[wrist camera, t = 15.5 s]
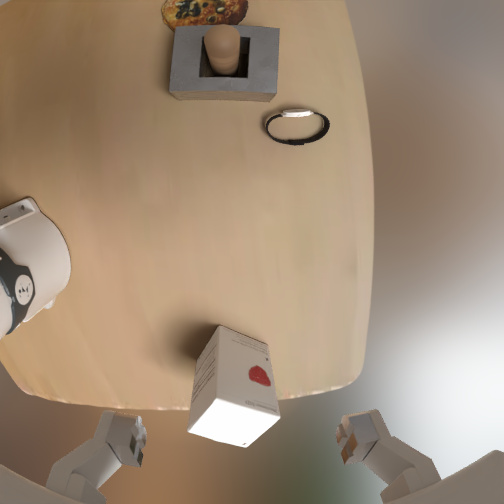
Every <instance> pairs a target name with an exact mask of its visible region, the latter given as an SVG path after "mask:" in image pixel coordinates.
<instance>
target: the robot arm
mask: <svg viewBox="0 0 504 504" xmlns="http://www.w3.org/2000/svg"><path fill="white" fill-rule="evenodd" d="M23 206H24V208H23ZM70 271H71V263H70V256H69V252H68V248H67V245H66V243H65V240H64V238H63V236H62V235H61V233H60V231H59V230H58V228H57V227H56V226H55V225H54V223H53V222H52V221H51V220H49V219H48V218H47V217H46V216H44V215H43V214H42V213H41V212H40V210H39V208H38V206H37V205H36V203H35V202H34V200H33V199H32V198H30V197H29V198H26V199H23V200H21V201H18V202H16V203H14V204H11V205H9V206H7V207H5V208H2V209H0V340H1V339H2V338H3V336H4V335H7V334H10V333H11V332H12V331H13V330H15V329H16V328H17V327H18V326H19V325H20V323H21V322H22V321H23V322H27V321H28V320H30V319H31V318H32V317H33V316H34V315H35V314H37V313H38V312H39V311H40V310H41V309H43V308H46V309H49V308H51V307H52V306H53V305H54V302H55V299H56V296H57V295H58V294H59V293H60V292H61V291H62V290H63V289H64V288H65V287H66V285H67V283H68V281H69V278H70ZM341 421H342V424H340V425H339V426H338V428H337V430H336V439H337V443H338V445H339V446H340V447H342V448H343V449H342V451H341V456H342V459H343V462H344V465H346V464H352V463H356V462H361V461H363V463H364V464H365V465H366V466H367V467H368V468H369V469H371V470H372V471H373V472H374V473H375V474H376V475H378V476H379V477H380V478H381V479H382V480H383V481H385V482H386V483H387V484H388V485H389V486H387V487H386V488H385V489H384V490H383V491H382V492H381V494H380V495H381V498H382V501H383V504H504V452H501V451H498V450H494V451H492V452H490V453H488V454H487V455H485V456H483V457H482V458H480V459H479V460H477V461H475V462H474V463H472V464H471V465H469V466H467V467H465V468H463V469H462V470H460V471H458V472H456V473H454V474H453V475H451V476H449V477H447V478H445V479H443V480H441V478H440V476H439V474H438V472H437V470H436V468H435V465H434V463H433V462H432V459H430V458H428V457H427V456H425V455H424V454H422V453H420V452H419V451H417V450H415V449H414V448H412V447H410V446H409V445H407V444H406V443H404V442H402V441H401V440H399V439H398V438H396V437H391V435H390V433H389V431H388V429H387V427H386V425H385V423H384V420H383V418H382V416H381V414H380V412H379V411H378V410H376V409H375V410H371V411H364V412H359V413H354V414H348V415H345V416H343V417H342V419H341ZM141 423H142V419H141V417H140V416H136V415H130V414H124V413H119V412H115V411H109V410H105V411H104V412H103V413H102V416H101V418H100V421H99V424H98V426H97V429H96V432H95V435H94V438H93V439H89V440H87V441H86V442H85V443H84V444H82V445H81V446H79V447H78V448H76V449H75V450H73V451H72V452H70V453H69V454H68V455H66V456H65V457H63V458H62V459H60V460H59V461H57V462H56V463H54V464H53V467H52V469H51V472H50V475H49V478H48V480H47V483H46V487H43V486H40V485H38V484H36V483H34V482H32V481H30V480H28V479H26V478H24V477H22V476H20V475H18V474H17V473H15V472H13V471H11V470H9V469H8V468H6V467H5V466H3V465H1V464H0V504H106V498H105V496H104V495H102V494H101V493H100V492H99V491H98V490H97V489H98V488H99V486H101V485H102V484H103V483H104V482H105V481H106V480H107V479H108V478H109V477H110V476H111V475H112V474H113V473H114V472H115V471H116V470H117V469H118V468H119V467H120V466H121V465H122V464H125V465H130V466H136V467H141V463H142V459H143V453H142V451H141V449H142V448H144V447H145V444H146V430H145V427H144V426H143V425H141Z"/></svg>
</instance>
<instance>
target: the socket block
mask: <svg viewBox="0 0 504 504" xmlns="http://www.w3.org/2000/svg"><path fill="white" fill-rule="evenodd" d="M214 26H216V25H196V26H179V27H176V30H175V37H174V45H173V54H172V64H171V74H170V86H169V92H170V93H171V94H172V95H174V96H175V97H176V98H177V99H179V100H240V101H259V102H270V101H271V100H272V99H273V97H274V96H275V95H276V94H277V77H278V55H279V32H280V28H270V27H258V26H241V25H230V26H232V27H234V28H235V29H237V31H238V32H239V34H240V48H239V54H248V57H247V73H246V78H230V77H205V74H206V62H207V50H206V47H205V43H204V36H205V34H206V32H207V31H208V30H209V29H210V28H212V27H214Z"/></svg>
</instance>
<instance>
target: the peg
mask: <svg viewBox="0 0 504 504" xmlns="http://www.w3.org/2000/svg"><path fill="white" fill-rule="evenodd" d="M204 43H205V47H206V50H207V54H208V57H209V61H210V64H211V68H212V71H213V75H214V77H230V78H236V77H237V75H238V63H239V48H240V34H239V32H238V31H237V29H235V28H234V27H232V26H230V25H226V24H220V25H216V26H214V27H212V28H210V29H209V30H208V31H207V32H206V34H205V36H204Z"/></svg>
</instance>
